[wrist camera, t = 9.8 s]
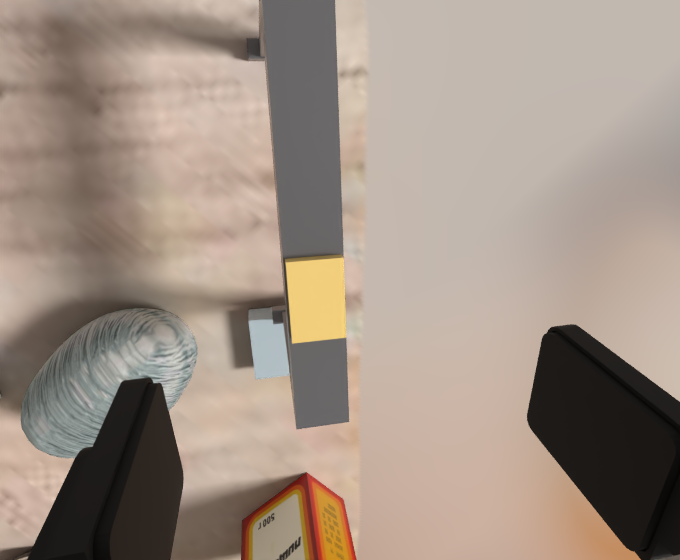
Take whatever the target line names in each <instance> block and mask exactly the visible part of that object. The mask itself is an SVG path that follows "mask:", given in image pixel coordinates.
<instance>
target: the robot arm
mask: <svg viewBox="0 0 680 560" xmlns="http://www.w3.org/2000/svg"><path fill="white" fill-rule="evenodd" d="M527 421H528V424H529V426H530V428H531V430H532V431H533V432H534V434H535V435H536V436H537V437H538V439H539V440H540V441H541V442H542V444H543V445H544V446H545V447H546V449H547V450H548V451H549V452H550V454H551V455H552V456H553V457H554V458H555V460H556V461H557V462H558V464H559V465H560V466H561V467H562V469H563V470H564V471H565V472H566V474H567V475H568V476H569V477H570V479H571V480H572V481H573V482H574V484H575V485H576V486H577V487H578V489H579V490H580V491H581V492H582V494H583V495H584V496H585V497H586V499H587V500H588V501H589V502H590V503H591V505H592V506H593V507H594V508H595V510H596V511H597V512H598V513H599V515H600V516H601V517H602V518H603V520H604V521H605V522H606V523H607V525H608V526H609V527H610V528H611V530H612V531H613V532H614V533H615V535H616V536H617V537H618V538H619V540H620V541H621V542H622V543H623V545H625V547H626V548H628V549H629V550H631V551H635V553H636V554H637V555H638V556H639V558H640V559H641V560H680V402H679V401H678V400H676V399H675V398H674V397H672V396H671V395H670V394H668V393H667V392H666V391H664V390H663V389H662V388H660V387H659V386H658V385H656V384H655V383H654V382H652V381H651V380H649V379H648V378H647V377H645V376H644V375H643V374H642V373H640V372H639V371H637V370H636V369H635V368H634V367H632V366H631V365H629V364H628V363H627V362H625V361H624V360H623V359H621V358H620V357H619V356H617V355H616V354H615V353H613V352H612V351H611V350H609V349H608V348H607V347H605V346H604V345H603V344H601V343H600V342H599V341H597V340H596V339H595V338H593V337H592V336H591V335H589V334H588V333H587V332H585V331H584V330H583V329H581V328H580V327H578V326H577V325H563V326H555V327H551V328H550V329H549V330H548V332H547V333H546V334H544V336H543V338H542V342H541V347H540V352H539V357H538V362H537V367H536V373H535V377H534V383H533V388H532V393H531V398H530V403H529V408H528V413H527ZM182 489H183V469H182V464H181V460H180V456H179V452H178V448H177V444H176V440H175V436H174V432H173V427H172V423H171V419H170V415H169V411H168V407H167V403H166V399H165V394H164V390H163V387H162V384H161V383H153V380H152V379H151V378H150V377H147V378H139V379H131V380H124V381H122V382H121V384H120V386H119V388H118V390H117V393H116V395H115V397H114V399H113V402H112V404H111V406H110V408H109V411H108V413H107V415H106V417H105V420H104V422H103V424H102V426H101V429H100V431H99V433H98V435H97V438H96V440H95V442H94V444H93V447H86V448H83V449H82V450H80V451H79V453H78V455H77V456H76V458H75V460H74V462H73V464H72V466H71V468H70V470H69V472H68V475H67V477H66V479H65V481H64V483H63V485H62V487H61V489H60V491H59V493H58V496H57V498H56V500H55V502H54V504H53V506H52V508H51V510H50V512H49V514H48V517H47V519H46V521H45V523H44V525H43V527H42V529H41V531H40V533H39V535H38V537H37V540H36V542H35V544H34V546H33V548H32V550H31V552H30V554H29V556H28V558H27V560H170V557H171V552H172V546H173V540H174V535H175V529H176V523H177V518H178V512H179V506H180V501H181V495H182Z"/></svg>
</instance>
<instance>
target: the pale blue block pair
mask: <svg viewBox="0 0 680 560" xmlns="http://www.w3.org/2000/svg"><path fill="white" fill-rule="evenodd" d="M248 322H249V330H250V339H251V347H252V355H253V363H254V371H255V379H264V378H272V377H280V376H288V375H289V366H288V358H287V350H286V342H285V334H284V326H283V324H273V316H272V307H270V308H259V309H249V314H248ZM1 397H2V396H1V393H0V398H1Z"/></svg>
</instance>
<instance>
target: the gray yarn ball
mask: <svg viewBox="0 0 680 560" xmlns="http://www.w3.org/2000/svg"><path fill="white" fill-rule="evenodd" d="M196 359H197V345H196V341H195V338H194V335H193V333H192V331H191V330H190V328H189V327H188V325H187V324H186V323H185V322H184V321H183V320H182V319H180V318H179V317H177V316H175V315H173V314H172V313H170V312H166V311H163V310H158V309H148V308H132V309H124V310H119V311H115V312H111V313H107V314H105V315H103V316H101V317H99V318H97V319H95V320H93V321H91V322H89V323H88V324H86V325H85V326H83V327H82V328H80V329H79V330H77V331H76V332H75V333H74V334H72V335H71V336H70V337H69V338H68V339H67V340H66V341H65V342H64V343H63V344H62V345H61V346H60V347H59V348H58V349H57V350H56V351H55V352H54V353H53V354H52V355H51V356H50V358H49V359H48V360H47V361H46V363H45V364H44V365H43V366H42V368H41V369H40V371H39V372H38V373H37V375H36V376H35V378H34V379H33V380H32V382H31V383H30V385H29V388H28V390H27V393H26V395H25V398H24V400H23V403H22V407H21V426H22V430H23V431H24V433H25V435H26V436H27V438H28V440H29V441H30V442H31V443H32V444H33V445H34V446H35V447H36V448H37V449H38V450H41V451H43V452H45V453H47V454H49V455H52V456H56V457H60V458H76V456H77V455H78V453H79V451H80V450H82V449H83V448H86V447H93V444H94V442H95V440H96V438H97V435H98V433H99V431H100V429H101V426H102V424H103V422H104V420H105V417H106V415H107V413H108V411H109V408H110V406H111V404H112V402H113V399H114V397H115V395H116V393H117V390H118V388H119V386H120V384H121V382H122V381H124V380H131V379H139V378H147V377H150V378H151V379H152V380H153V383H161V384H162V387H163V390H164V394H165V399H166V403H167V407H168V411H169V410H170V409H171V408H172V407H173V406H174V405H175V403H176V402H177V401H178V399H179V398H180V396H181V395H182V393H183V392H184V390H185V388H186V386H187V384H188V383H189V381H190V379H191V377H192V373H193V369H194V367H195V364H196Z"/></svg>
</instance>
